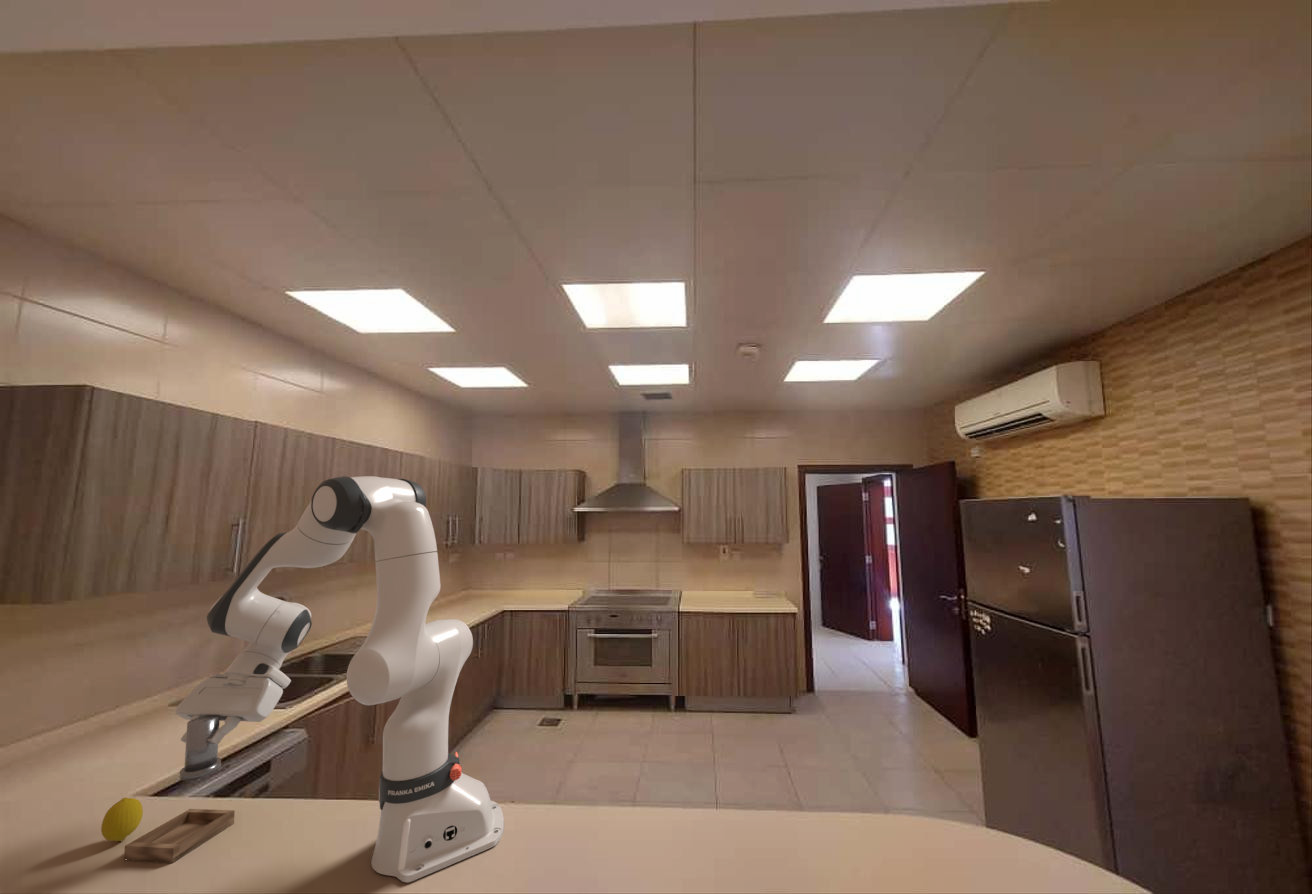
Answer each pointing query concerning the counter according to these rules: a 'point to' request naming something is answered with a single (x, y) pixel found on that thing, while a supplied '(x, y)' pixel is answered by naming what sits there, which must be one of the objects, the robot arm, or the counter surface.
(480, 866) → the counter surface
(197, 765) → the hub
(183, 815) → the tray
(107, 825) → the lemon
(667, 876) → the counter surface
